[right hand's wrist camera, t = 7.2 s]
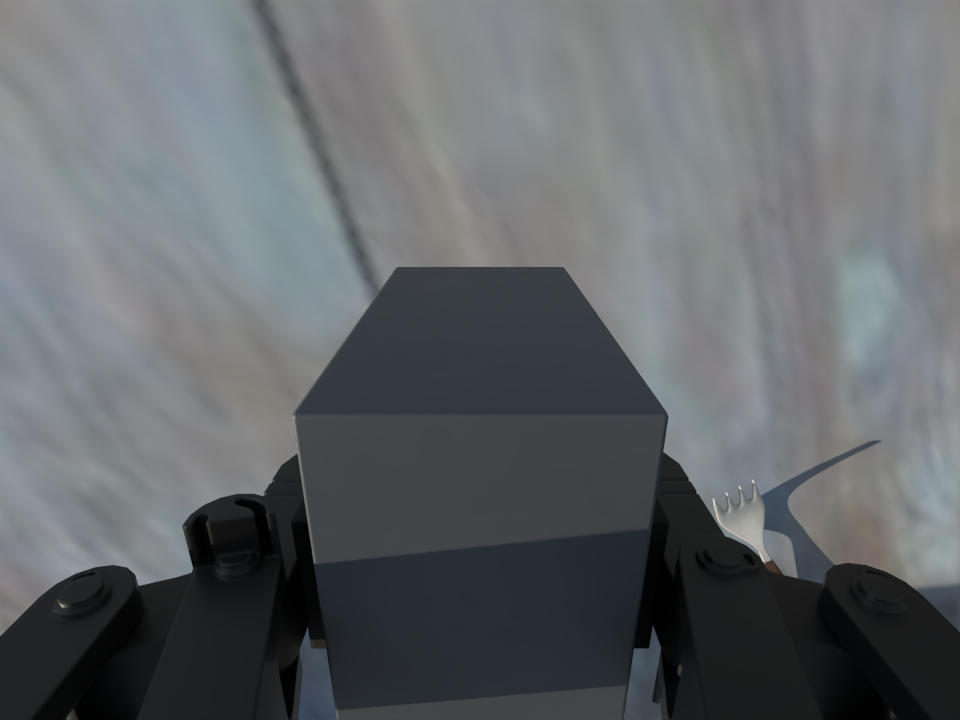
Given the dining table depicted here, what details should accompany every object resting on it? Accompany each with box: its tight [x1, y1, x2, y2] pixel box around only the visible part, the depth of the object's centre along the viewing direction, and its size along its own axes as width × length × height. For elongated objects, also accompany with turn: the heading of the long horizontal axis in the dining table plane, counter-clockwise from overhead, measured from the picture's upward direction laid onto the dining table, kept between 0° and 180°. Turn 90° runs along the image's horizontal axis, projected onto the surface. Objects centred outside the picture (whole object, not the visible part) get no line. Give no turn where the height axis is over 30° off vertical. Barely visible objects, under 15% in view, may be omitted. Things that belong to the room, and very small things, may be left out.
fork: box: [713, 479, 783, 575], centre depth 30 cm, size 3×16×2 cm, turn 32°
